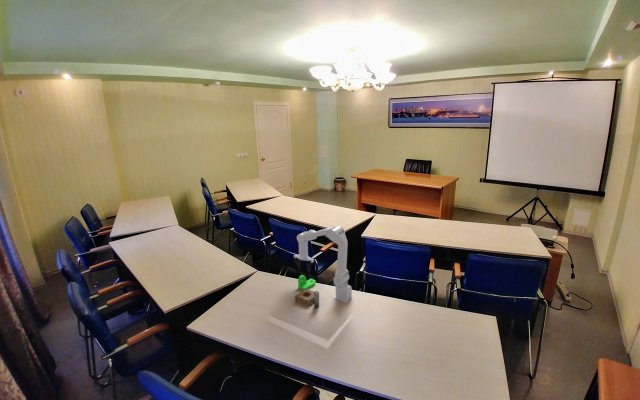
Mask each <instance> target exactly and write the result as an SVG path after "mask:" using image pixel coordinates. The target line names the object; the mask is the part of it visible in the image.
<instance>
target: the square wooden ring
mask: <svg viewBox="0 0 640 400" xmlns="http://www.w3.org/2000/svg"><path fill="white" fill-rule="evenodd" d="M314 292H315V291H314V290H310V289H304V290H302V289H301V290H300V292H298V293H297V294H296V295H295V296H294V301H295V302H296V303H299V304H301V305H303V306H307V307H310V306H311V305H313V304H314Z"/></svg>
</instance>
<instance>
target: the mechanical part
mask: <svg viewBox="0 0 640 400" xmlns="http://www.w3.org/2000/svg"><path fill="white" fill-rule="evenodd" d="M315 283H316V280H315V279H313V278H309V279H308V280H307V277H306V276H305V275H303V274H301V275H299V276H298V279H297V288H298V289H300V290H301V291H302V290H304V289H308V290H310V289H312V288H313V287H314V286H316V285H315ZM316 284H317V283H316Z"/></svg>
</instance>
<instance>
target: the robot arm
mask: <svg viewBox="0 0 640 400" xmlns="http://www.w3.org/2000/svg"><path fill="white" fill-rule="evenodd" d="M323 236H325V237H326V238H328V239H329V240H330V241H331V242H332V243H335V244H336V245H337V246H338V247H337V263H336V265H337V267H336V271H335V274H334V277H333V284H334V285H335V295H334V296H333V297H332V298H333V299H334V300H335V299H336V300H339V301H341V302H344V303H348V302H349V300H350V299H352V297H353V287H352V286H351V285H349V283H348V281H349V279H350V274H349V270H348V269H347V262H348V245H349V244H348V243H349V242H348V239H347V237H346V230H345V229H344V228H343V227H342V226H341V225H337V226H331V227H326V228H322V229H320V230H317V231H316V230H315V229H309V230H308V231H303V232H302V233H299V234H297V236H296V240H297V243H298V254H293V258H294V262H295V264H296V267H297V270H301V268H302V265H301V264H302V261H306V262H305V265H306V270H307V273H309V272H311V268H312V265H313V263H314V262H315V260H314V258H312V257H310V256H309V246H308V245H309V244H308V243H309V241H312V240H317V237H323Z"/></svg>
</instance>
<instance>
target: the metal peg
mask: <svg viewBox="0 0 640 400" xmlns="http://www.w3.org/2000/svg"><path fill="white" fill-rule="evenodd" d="M313 308H314V309H319V308H320V291H317V290H315V291H314V302H313Z"/></svg>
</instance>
